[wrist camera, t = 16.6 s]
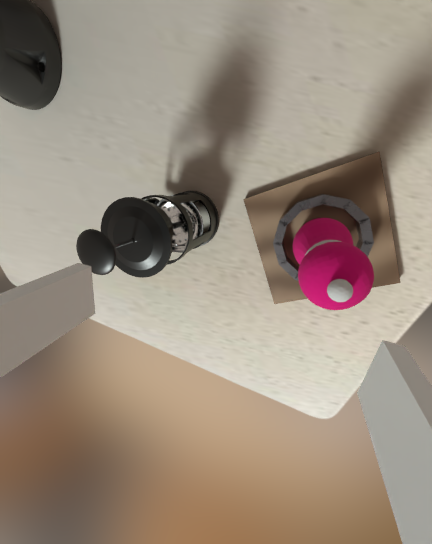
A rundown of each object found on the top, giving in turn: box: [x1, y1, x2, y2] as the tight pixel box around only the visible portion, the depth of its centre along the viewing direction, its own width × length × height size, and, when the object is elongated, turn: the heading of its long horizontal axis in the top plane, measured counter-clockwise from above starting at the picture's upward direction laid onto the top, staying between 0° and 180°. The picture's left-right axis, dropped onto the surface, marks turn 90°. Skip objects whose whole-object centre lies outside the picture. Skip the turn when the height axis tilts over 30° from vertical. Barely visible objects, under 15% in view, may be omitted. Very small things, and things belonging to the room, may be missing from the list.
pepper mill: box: [293, 218, 374, 310], centre depth 27 cm, size 7×7×20 cm
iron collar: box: [273, 194, 374, 281], centre depth 35 cm, size 12×12×2 cm
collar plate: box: [244, 152, 400, 304], centre depth 36 cm, size 18×18×1 cm
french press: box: [76, 191, 219, 277], centre depth 32 cm, size 12×9×23 cm
